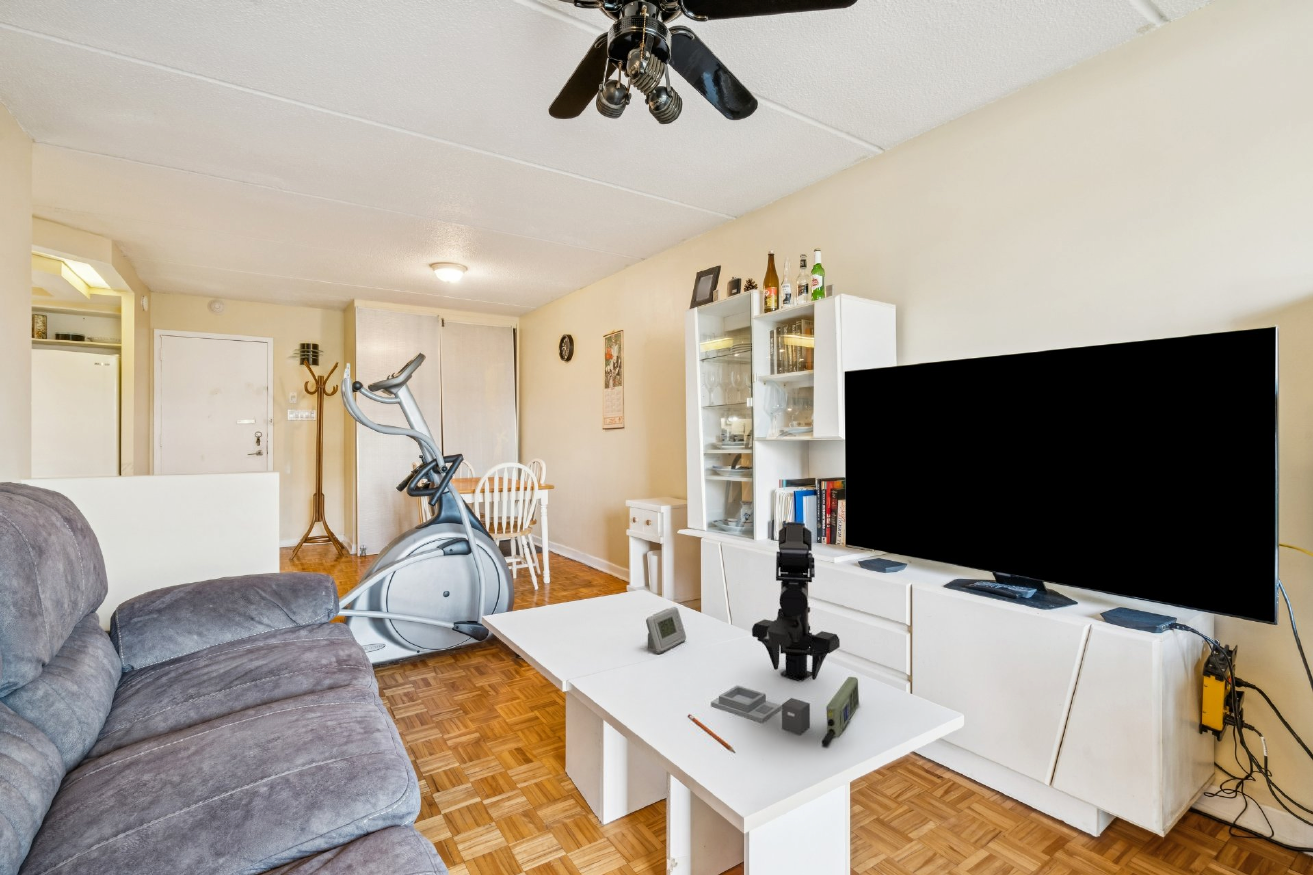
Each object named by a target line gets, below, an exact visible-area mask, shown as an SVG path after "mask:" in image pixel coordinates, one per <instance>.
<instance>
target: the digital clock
mask: <svg viewBox="0 0 1313 875" xmlns="http://www.w3.org/2000/svg"><path fill="white" fill-rule="evenodd" d="M645 623H646V627H647V630H648V634H647V648H648V649H650V650H653V651H654V653H655V654H662V653H663V652H667V651H669V650H671V649H673V648H674V647H676V646H679V645H680V644H681V643H683V642H685V640H686V639H687V635H686V632H685V628H684V625H683V621H682V618H681V615H680V611H679V608H678V607H676V606H672V607H670V608H665V609H664V610H661V611H659V612H655V614H652V615H651V616H649V617H647V618H646V619H645Z"/></svg>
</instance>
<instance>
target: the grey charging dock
mask: <svg viewBox="0 0 1313 875" xmlns="http://www.w3.org/2000/svg"><path fill="white" fill-rule="evenodd" d="M710 707H712V708H716V709H719V710H722V711H724V710H725V712H727V711H728V713H730V712H732V714H733V713H734V715H736V714H738V715H737V716H739V715H740V717H742V716H744V717H743V718H745V717H746V719H749V720H751V719H752V721H755V722H757V721H758V723H760V724H763V723H765V722H766V721H768V720H769V719H770V718H772V717H773V716H775V715H776V714H778V713H779V712H780V711H782V704H778V703H777V702H776V703H775V702H772V701H768V700H767V694H766V693H764V692H762V691H758V690H754V689H750V688H747V687H745V686H744V687H743V686H740V685H738V684H737V685H735V686H733V687H731V688H730V689H729V690H726V691H724V692H723V693H721V694H719V695H718V697H717V698H715V699H713V700H712V701H711V702H710ZM774 714H775V715H774ZM771 716H772V717H771Z"/></svg>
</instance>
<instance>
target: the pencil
mask: <svg viewBox="0 0 1313 875" xmlns="http://www.w3.org/2000/svg"><path fill="white" fill-rule="evenodd" d="M687 718H688V719H689V720H690V721H692V722H693V723H694V724H696V725H697V726H698V727H699V728H701V729H702V730H703V731H704V732H706V733H707V734H708V735H709V736H711V737H712V738H713V739H715V740H716V741H717V742H719V744H721V745H722V746H723V747H724V748H726V749H727V750H728V751H730V752H732V753H735V754H736V751H735V749H734V748H733V747H732V746H731V745H730V744H729V743H727V742H726V741H725V740H723V739H722V738H721V737H720V736H718V735H717V734H716V733H714V732H713V731H712V730H711V729H709V728H708V727H707V726H706V725H704V724H703V723H702V722H701V721H699V720H698V719H697V718H695V717H694V716H693V715H692V714H690V713H689V714H688V715H687Z"/></svg>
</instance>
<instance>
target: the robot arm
mask: <svg viewBox="0 0 1313 875" xmlns="http://www.w3.org/2000/svg"><path fill="white" fill-rule="evenodd" d="M805 524H806V523H804V522H801V521H800V522H799V521H787V522H784V527H782V528H780V529H779V530H778V550H779V551H776V557H775V558H776V559H775V563H776V564H775V581H777V582H780V593H779V594H780V596H779V606H780V608H778V611H777V616H776V619H774V620H770V619H765V618H764V619H762V620H760V621H757V622H756V623H754V624H753V625H752V628H751V636H752V637H753V638H756V639H757V641H758V642H760V643H762V645H763V646H764V647H765V648H766V650H767V653H768V655H769V658H770V661H771V665H772V667H773V670H775V671H777V670H779V664H780V654H781V655H783V654H784V655H785V666H784V667H785V669H784V670H783V671H781V672H780V676H783V677H786V678H790V679H794V680H795V681H801V682H802V681H804V680H806V679H807V678H809V677H810V676H811V679H812V681H815V680H816V679H817V678H818V675H819V673H820V670H821V668H822V665H823V664H824V661H825V659H826V657H827V656H828V655H827V654H831V653H833V652H834V651H835V650H838V649H839V648H840V645H841V644H840V637H839V636H838V634H837V633H833V632H827V631H823V630H822V631H819V632H818V633H816V634H813V632H810V631H811V625H810V623H809V622H808V620H809V619H808V618H809V616H808V614H809V613H811V607H810V606H808V605H809V602H808V601H809V600H808V599H809V598H808V597H809V594H808V583H812V582H813V578H814V579H815V576H816V573H815V557H814V556H813V553H812V548H813V544H812V542H813V540H812V538H813V537H812V535H813V534H812V531H811V530H810V529H808V528H807V527H806V526H805ZM808 574H809V575H808ZM808 656H809V657H811V671H810V670H808Z"/></svg>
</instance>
